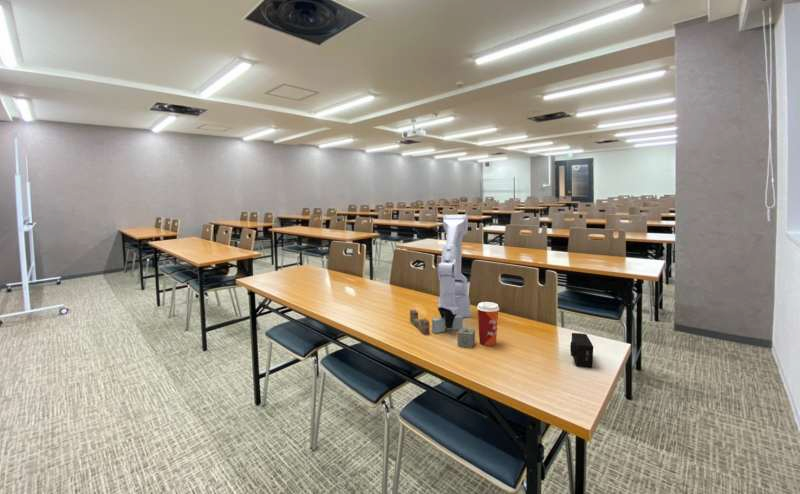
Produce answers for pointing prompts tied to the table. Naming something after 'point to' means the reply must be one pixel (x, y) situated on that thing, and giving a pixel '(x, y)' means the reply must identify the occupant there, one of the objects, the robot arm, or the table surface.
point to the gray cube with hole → (466, 337)
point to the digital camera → (581, 350)
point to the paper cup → (487, 322)
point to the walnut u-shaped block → (419, 322)
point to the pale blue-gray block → (439, 324)
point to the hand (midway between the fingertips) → (447, 326)
